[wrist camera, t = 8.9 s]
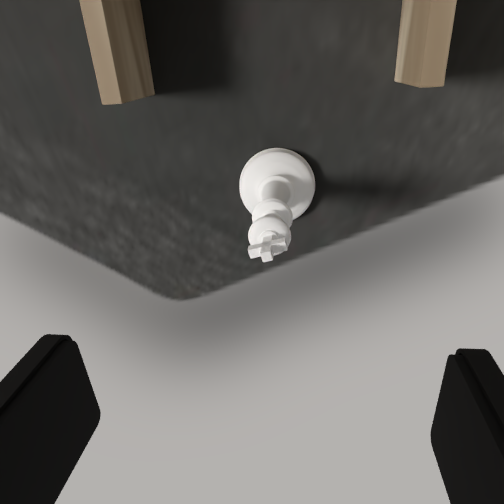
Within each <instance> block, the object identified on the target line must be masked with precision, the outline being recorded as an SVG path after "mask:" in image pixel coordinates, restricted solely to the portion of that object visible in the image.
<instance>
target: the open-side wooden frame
mask: <svg viewBox="0 0 504 504" xmlns="http://www.w3.org/2000/svg"><path fill="white" fill-rule="evenodd" d="M79 1H80V5H81V10H82V14H83V19H84V23H85V28H86V32H87V37H88V41H89V46H90V51H91V55H92V60H93V64H94V69H95V73H96V78H97V82H98V87H99V91H100V96H101V100H102V105H105V104H122V103H126V102H130V101H133V100H137V99H141V98H144V97H148V96H152V95H155V91H154V85H153V79H152V72H151V66H150V60H149V54H148V47H147V41H146V35H145V29H144V22H143V16H142V10H141V4H140V0H79ZM456 2H457V0H403V1H402V11H401V21H400V31H399V41H398V51H397V61H396V71H395V81H396V82H400V83H404V84H408V85H412V86H416V87H420V88H421V87H440V86H444V80H445V73H446V67H447V60H448V54H449V47H450V41H451V34H452V28H453V21H454V15H455V8H456Z"/></svg>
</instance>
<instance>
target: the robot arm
mask: <svg viewBox="0 0 504 504" xmlns="http://www.w3.org/2000/svg"><path fill="white" fill-rule="evenodd" d="M99 420H100V409H99V406H98V403H97V400H96V397H95V394H94V391H93V388H92V385H91V382H90V380H89V377H88V374H87V371H86V368H85V365H84V363H83V359H82V356H81V354H80V351H79V348H78V345H77V343H76V342H75V341H73V340H72V339H71V337H70V336H68V335H51V334H47V335H44V336H43V337H41V338H40V339H39V341H37V343H36V344H35V345H34V346H33V347H32V348H31V349H30V350H29V351H28V352H27V353H26V355H25V356H24V357H23V358H22V359H21V360H20V361H19V362H18V363H17V365H15V366H14V368H13V369H12V370H11V371H10V372H9V373H8V374H7V375H6V376H5V377H4V379H3V380H2V381H1V382H0V504H54V503H55V501H56V500H57V498H58V496H59V494H60V493H61V491H62V489H63V487H64V485H65V483H66V482H67V480H68V478H69V476H70V474H71V473H72V471H73V469H74V467H75V465H76V463H77V462H78V460H79V458H80V456H81V455H82V453H83V451H84V449H85V447H86V445H87V444H88V442H89V440H90V438H91V436H92V435H93V433H94V431H95V429H96V427H97V425H98V423H99ZM431 443H432V447H433V451H434V454H435V457H436V460H437V463H438V466H439V469H440V472H441V475H442V478H443V481H444V485H445V488H446V491H447V494H448V497H449V500H450V503H451V504H504V375H503V374H502V372H501V370H500V369H499V367H498V365H497V364H496V362H495V361H494V359H493V357H492V356H491V354H490V353H489V352H488V351H487V350H485V349H458V350H457V351H456V354H455V355H449V356H448V359H447V363H446V368H445V372H444V376H443V380H442V385H441V390H440V394H439V398H438V402H437V406H436V411H435V415H434V420H433V424H432V428H431Z"/></svg>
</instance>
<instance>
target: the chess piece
mask: <svg viewBox="0 0 504 504" xmlns="http://www.w3.org/2000/svg"><path fill="white" fill-rule="evenodd" d="M314 192H315V178H314V174H313V171H312V169H311V167H310V165H309V164H308V162H307V161H306V160H305V159H304V158H303V157H302V156H300V155H299V154H297V153H296V152H294V151H291V150H288V149H284V148H270V149H266V150H263V151H261V152H259V153H257V154H256V155H254V156H253V157H252V158H251V159H250V160H249V161H248V162H247V163H246V165H245V166H244V168H243V170H242V173H241V176H240V195H241V198H242V201H243V203H244V205H245V207H246V208H247V209H248V211H249V212H250V213H251V214H252V221H253V224H252V225H251V227H250V229H249V233H248V238H249V242H250V244H251V245H250V246H249V247H248V252H249V255H250V258H255V257H260V256H261V258H262V261H263V262H267V261H271V260H273V256H274V255H278V254H280V253H282V252H283V251H287V250H288V246H289V244H290V241H291V232H290V229H289V228H290V226H291V224H292V221H293V220H294V219H296V218H297V217H299V216H300V215H302V214H303V213H304V212H305V211H306V209H307V208H308V207H309V205H310V203H311V201H312V198H313V196H314Z"/></svg>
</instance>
